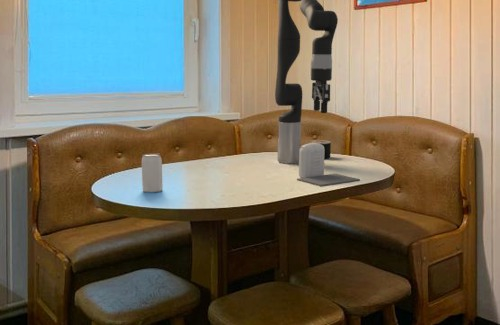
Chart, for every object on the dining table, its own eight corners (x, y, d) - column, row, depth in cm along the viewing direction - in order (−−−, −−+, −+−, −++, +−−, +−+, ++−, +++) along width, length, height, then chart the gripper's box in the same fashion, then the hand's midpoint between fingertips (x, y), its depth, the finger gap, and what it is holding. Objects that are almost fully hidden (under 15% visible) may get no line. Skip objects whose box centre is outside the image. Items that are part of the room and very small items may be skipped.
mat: (297, 180, 197) (297, 178, 197) (335, 174, 206) (335, 173, 206) (320, 186, 186) (320, 184, 186) (359, 180, 195) (359, 179, 195)
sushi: (326, 159, 241) (326, 141, 240) (308, 158, 246) (308, 140, 244) (333, 157, 248) (333, 139, 247) (316, 155, 252) (316, 138, 251)
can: (143, 189, 183) (142, 153, 181) (163, 188, 184) (162, 152, 182) (141, 193, 177) (140, 156, 175) (161, 192, 177) (160, 155, 175)
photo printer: (318, 173, 208) (318, 141, 206) (325, 175, 205) (326, 142, 203) (296, 176, 203) (297, 143, 201) (304, 178, 199) (304, 144, 197)
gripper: (305, 66, 206) (305, 110, 209) (317, 67, 193) (316, 114, 196) (325, 66, 208) (323, 109, 211) (337, 67, 194) (336, 113, 197)
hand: (320, 111), depth 203 cm, fingers open, 8 cm apart
